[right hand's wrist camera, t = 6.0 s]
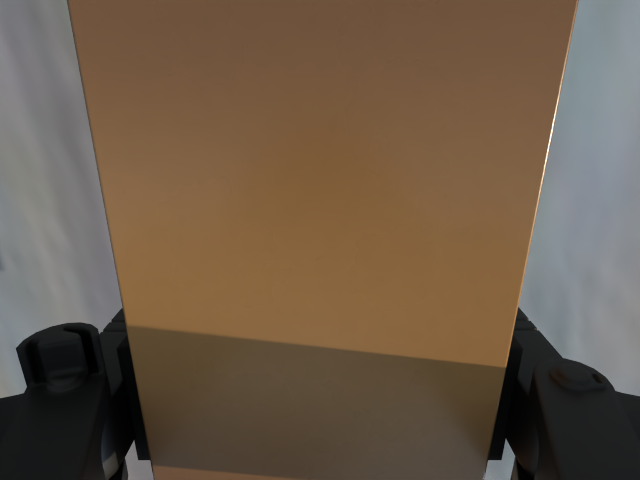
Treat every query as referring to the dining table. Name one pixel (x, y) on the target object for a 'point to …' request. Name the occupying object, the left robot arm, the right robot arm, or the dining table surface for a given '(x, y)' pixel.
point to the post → (321, 222)
